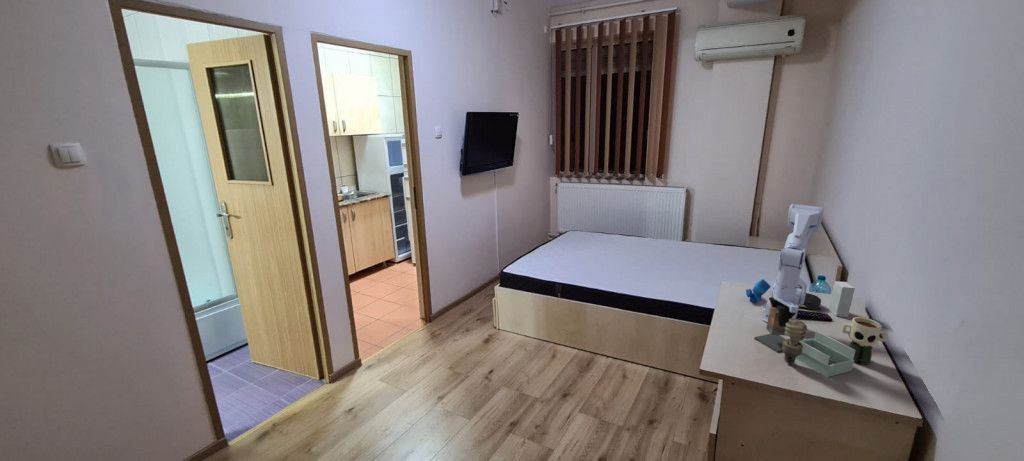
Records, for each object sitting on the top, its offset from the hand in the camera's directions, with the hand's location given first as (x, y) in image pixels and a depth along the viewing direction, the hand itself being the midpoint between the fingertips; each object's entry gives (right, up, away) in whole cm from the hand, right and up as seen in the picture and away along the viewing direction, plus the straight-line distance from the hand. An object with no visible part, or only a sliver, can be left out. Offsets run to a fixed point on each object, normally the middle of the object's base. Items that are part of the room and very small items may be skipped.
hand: (779, 322), depth 142 cm
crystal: (+11, +2, +34) cm, 35 cm away
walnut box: (0, -3, +1) cm, 4 cm away
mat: (0, -7, +2) cm, 8 cm away
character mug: (+20, -10, -7) cm, 23 cm away
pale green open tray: (+7, -10, -8) cm, 15 cm away
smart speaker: (+29, 0, +29) cm, 41 cm away
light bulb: (-3, -11, -9) cm, 15 cm away
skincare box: (+36, -1, +22) cm, 43 cm away
